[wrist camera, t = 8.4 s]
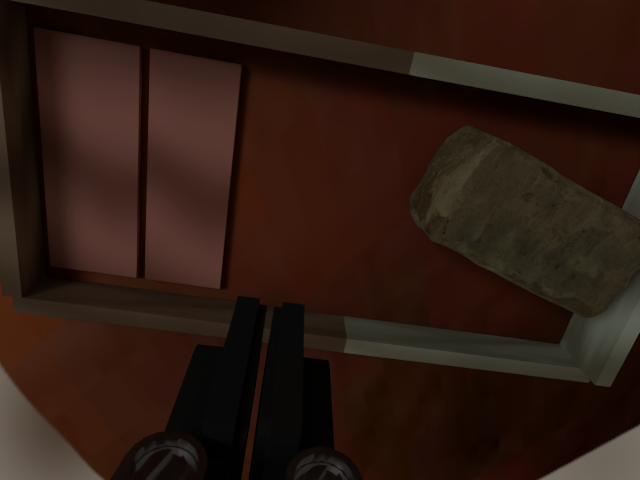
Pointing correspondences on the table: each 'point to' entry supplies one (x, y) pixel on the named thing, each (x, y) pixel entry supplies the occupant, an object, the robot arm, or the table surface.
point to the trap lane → (215, 185)
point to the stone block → (526, 222)
